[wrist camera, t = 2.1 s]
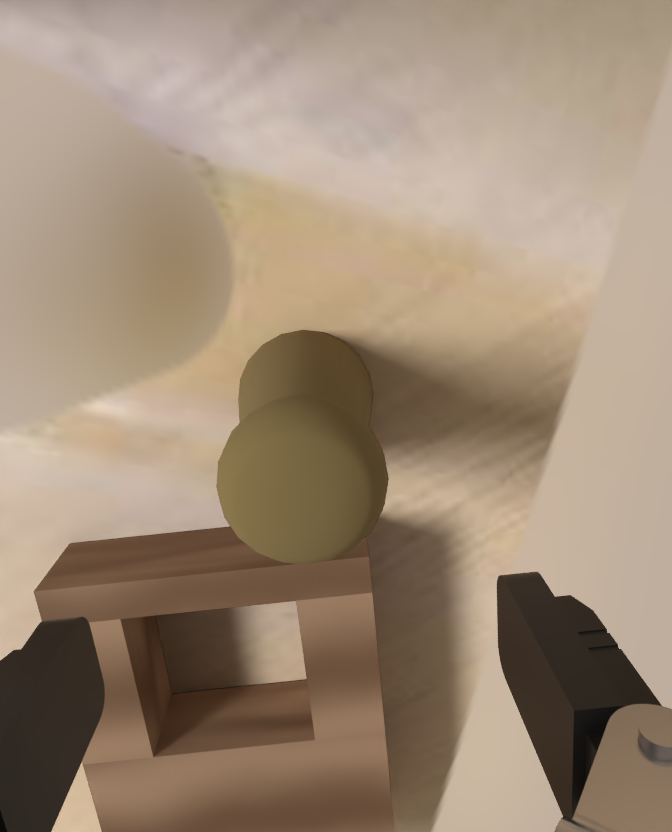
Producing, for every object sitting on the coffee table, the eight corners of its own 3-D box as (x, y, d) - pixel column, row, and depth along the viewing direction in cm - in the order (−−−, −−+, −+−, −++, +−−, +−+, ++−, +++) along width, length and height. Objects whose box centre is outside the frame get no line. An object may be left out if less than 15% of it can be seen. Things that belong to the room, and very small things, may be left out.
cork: (256, 313, 27) (220, 375, 16) (390, 351, 27) (438, 432, 17) (224, 441, 28) (173, 572, 18) (351, 473, 29) (373, 617, 19)
